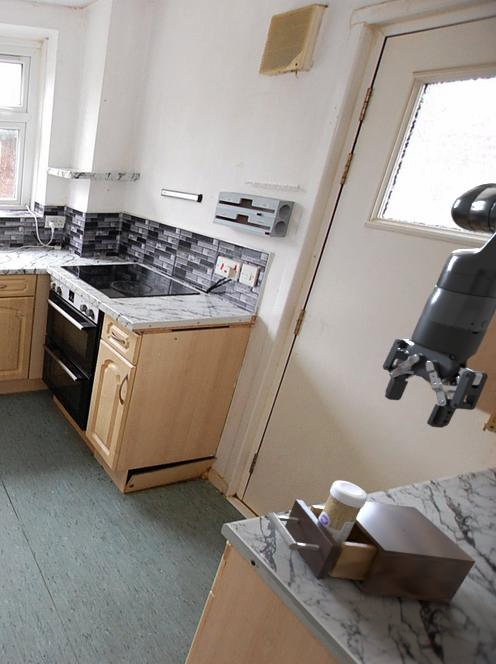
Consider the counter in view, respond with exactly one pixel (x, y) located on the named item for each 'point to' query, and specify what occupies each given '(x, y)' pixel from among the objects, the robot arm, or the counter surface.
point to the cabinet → (410, 555)
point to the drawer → (325, 544)
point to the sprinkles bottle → (342, 509)
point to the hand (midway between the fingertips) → (412, 411)
